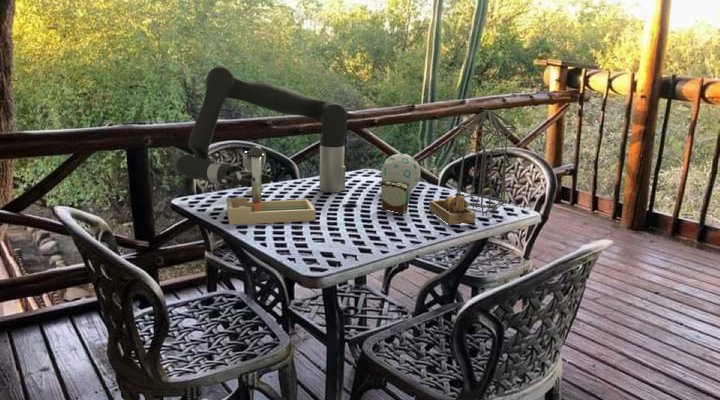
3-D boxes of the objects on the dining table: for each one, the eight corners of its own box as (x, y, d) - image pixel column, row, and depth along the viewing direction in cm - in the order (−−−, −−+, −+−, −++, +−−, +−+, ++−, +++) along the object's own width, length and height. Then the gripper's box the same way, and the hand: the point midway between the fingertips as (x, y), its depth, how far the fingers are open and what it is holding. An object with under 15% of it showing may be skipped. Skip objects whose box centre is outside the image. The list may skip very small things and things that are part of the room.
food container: (418, 212, 196) (419, 183, 193) (406, 216, 191) (408, 186, 189) (390, 205, 204) (391, 177, 201) (378, 208, 199) (379, 180, 197)
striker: (262, 208, 187) (261, 144, 182) (264, 212, 183) (263, 147, 177) (250, 209, 186) (248, 144, 181) (251, 213, 182) (250, 147, 176)
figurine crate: (452, 211, 199) (453, 199, 198) (474, 225, 183) (475, 213, 182) (429, 212, 197) (429, 200, 196) (449, 226, 181) (450, 214, 180)
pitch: (307, 209, 196) (307, 195, 194) (315, 220, 183) (315, 205, 182) (227, 213, 188) (226, 198, 187) (229, 224, 176) (229, 209, 175)
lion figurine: (469, 224, 184) (471, 197, 182) (454, 225, 183) (456, 198, 180) (448, 212, 198) (450, 186, 196) (434, 212, 196) (436, 187, 194)
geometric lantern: (447, 213, 196) (454, 109, 187) (472, 205, 207) (480, 106, 198) (488, 224, 185) (498, 114, 176) (512, 214, 197) (522, 110, 188)
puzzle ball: (374, 194, 218) (375, 155, 214) (387, 186, 232) (389, 149, 228) (412, 199, 213) (415, 159, 209) (424, 190, 226) (426, 152, 222)
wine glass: (241, 191, 217) (240, 151, 213) (262, 189, 220) (262, 150, 216) (247, 196, 210) (246, 155, 206) (268, 194, 213) (268, 154, 210)
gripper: (207, 165, 183) (244, 173, 174) (240, 159, 194) (276, 166, 185) (208, 189, 185) (244, 197, 176) (240, 181, 196) (276, 189, 187)
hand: (261, 181), depth 181 cm, fingers open, 8 cm apart
